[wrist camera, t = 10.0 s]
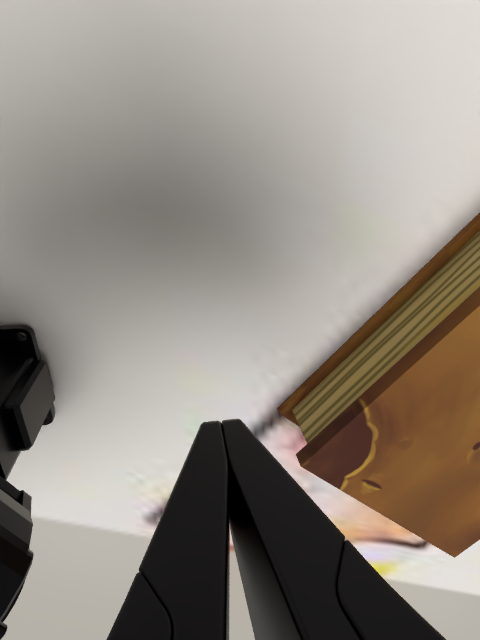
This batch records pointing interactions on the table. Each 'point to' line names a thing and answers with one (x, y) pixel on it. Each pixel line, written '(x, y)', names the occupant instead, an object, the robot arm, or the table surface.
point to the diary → (407, 404)
